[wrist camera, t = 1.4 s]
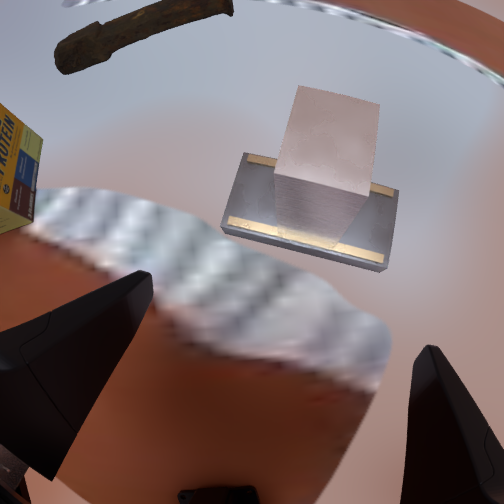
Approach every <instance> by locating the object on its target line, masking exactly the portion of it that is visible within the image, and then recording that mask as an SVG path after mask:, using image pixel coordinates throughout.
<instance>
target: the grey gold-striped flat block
mask: <svg viewBox="0 0 504 504" xmlns="http://www.w3.org/2000/svg"><path fill="white" fill-rule="evenodd" d="M277 160H278V159H275V158H269V157H265V156H260V155H255V154H249V153H243V156H242V159H241V162H240V165H239V168H238V171H237V175H236V178H235V181H234V184H233V187H232V190H231V193H230V196H229V199H228V203H227V206H226V209H225V212H224V215H223V219H222V222H221V225H220V227H221V228H222V230H223V231H224V233H225V234H229V235H233V236H237V237H241V238H246V239H249V240H253V241H257V242H261V243H265V244H269V245H273V246H277V247H281V248H285V249H289V250H293V251H297V252H301V253H305V254H309V255H313V256H316V257H321V258H325V259H328V260H333V261H336V262H340V263H344V264H348V265H352V266H356V267H360V268H363V269H368V270H371V271H375V272H379V273H380V272H381V271H383V270H385V269H387V268H388V263H389V257H390V251H391V246H392V239H393V233H394V226H395V219H396V212H397V203H398V195H399V190H396V189H393V188H389V187H386V186H382V185H379V184H376V183H372V182H371V185H370V191H369V197H368V198H367V200H366V201H365V203H364V204H363V206H362V207H361V209H360V211H359V212H358V214H357V215H356V217H355V218H354V220H353V221H352V222H351V224H350V225H349V227H348V228H347V230H346V231H345V233H344V234H343V236H342V237H341V239H340V240H339V242H338V243H337V244H336V246H333V245H329V244H325V243H321V242H317V241H313V240H309V239H305V238H301V237H297V236H293V235H289V234H285V233H281V232H278V229H277V214H276V199H275V184H274V170H275V167H276V163H277Z"/></svg>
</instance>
